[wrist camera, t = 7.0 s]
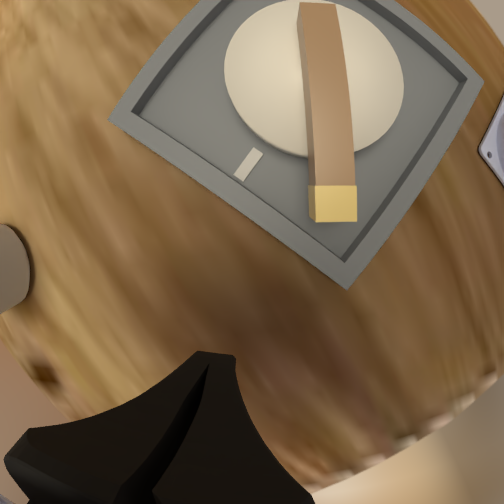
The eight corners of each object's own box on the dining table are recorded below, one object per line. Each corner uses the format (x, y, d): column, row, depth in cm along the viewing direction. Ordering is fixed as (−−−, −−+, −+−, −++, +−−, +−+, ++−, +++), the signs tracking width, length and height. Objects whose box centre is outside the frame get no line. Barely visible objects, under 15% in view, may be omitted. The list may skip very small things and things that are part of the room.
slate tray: (468, 87, 16) (484, 81, 14) (339, 279, 20) (346, 290, 17) (273, -46, 14) (273, -62, 12) (122, 125, 18) (107, 119, 16)
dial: (378, 20, 14) (401, -12, 10) (398, 211, 17) (433, 221, 13) (226, 17, 15) (215, -20, 11) (235, 215, 18) (223, 225, 13)
